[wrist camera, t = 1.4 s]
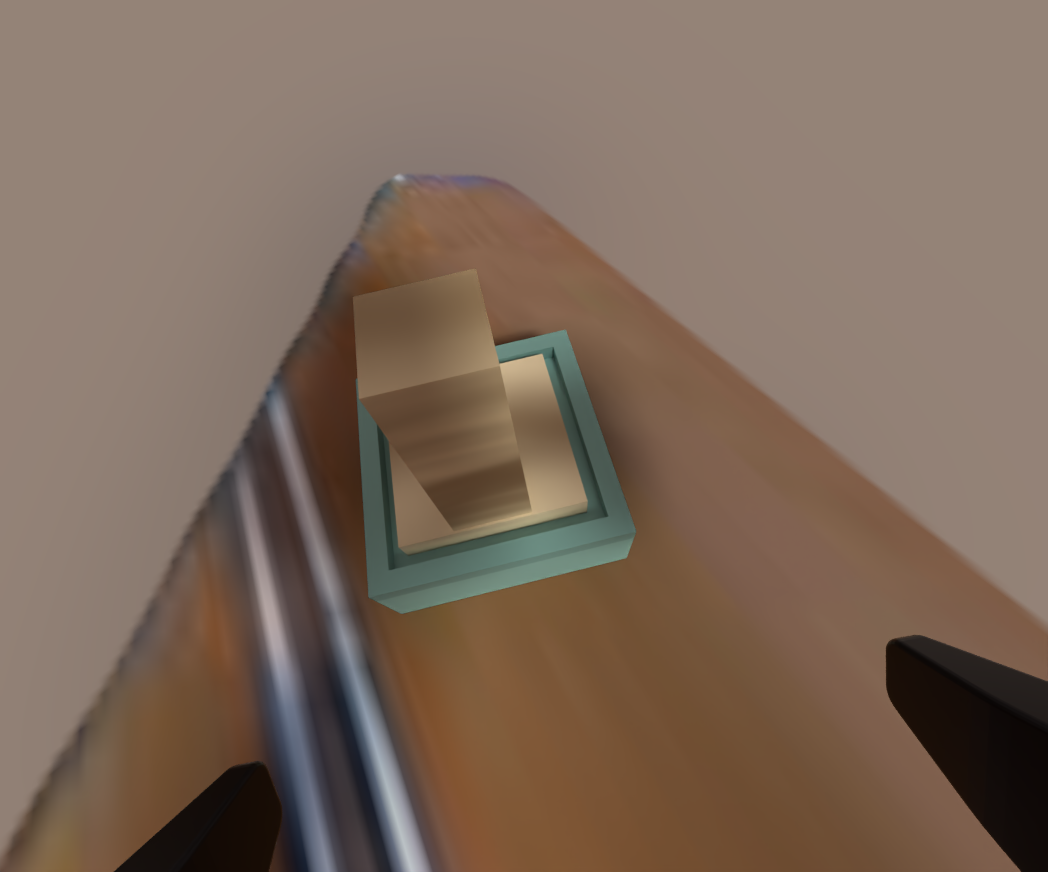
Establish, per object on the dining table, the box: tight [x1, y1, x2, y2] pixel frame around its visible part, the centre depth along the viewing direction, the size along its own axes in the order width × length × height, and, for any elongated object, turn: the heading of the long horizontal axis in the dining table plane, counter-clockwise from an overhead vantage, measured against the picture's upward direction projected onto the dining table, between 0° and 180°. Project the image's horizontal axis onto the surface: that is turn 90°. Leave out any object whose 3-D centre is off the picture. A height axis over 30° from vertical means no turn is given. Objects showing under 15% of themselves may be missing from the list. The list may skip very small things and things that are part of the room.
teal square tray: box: [356, 330, 636, 614], centre depth 22 cm, size 10×10×4 cm
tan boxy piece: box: [353, 269, 588, 556], centre depth 16 cm, size 7×7×10 cm
